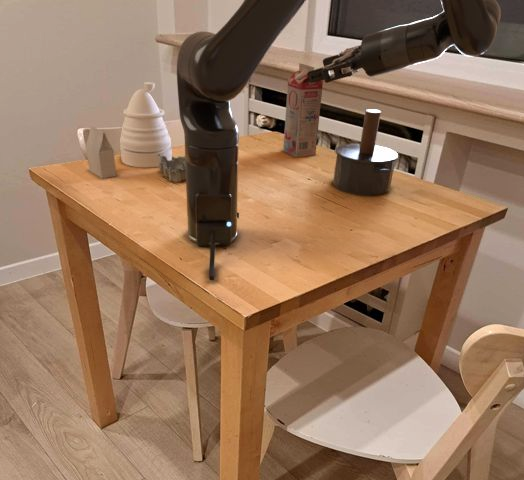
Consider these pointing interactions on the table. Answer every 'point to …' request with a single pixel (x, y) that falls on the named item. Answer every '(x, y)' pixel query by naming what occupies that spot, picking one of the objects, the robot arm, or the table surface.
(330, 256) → the table surface
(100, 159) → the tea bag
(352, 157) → the lid
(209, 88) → the robot arm
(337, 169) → the pot
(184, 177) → the egg carton
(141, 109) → the honey pot
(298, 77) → the milk carton
